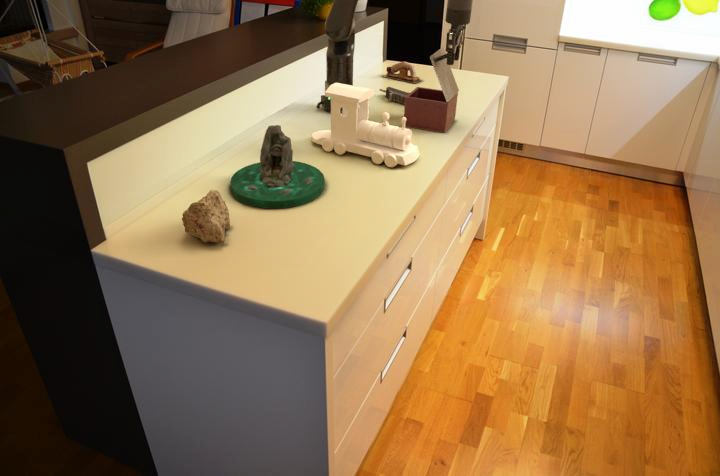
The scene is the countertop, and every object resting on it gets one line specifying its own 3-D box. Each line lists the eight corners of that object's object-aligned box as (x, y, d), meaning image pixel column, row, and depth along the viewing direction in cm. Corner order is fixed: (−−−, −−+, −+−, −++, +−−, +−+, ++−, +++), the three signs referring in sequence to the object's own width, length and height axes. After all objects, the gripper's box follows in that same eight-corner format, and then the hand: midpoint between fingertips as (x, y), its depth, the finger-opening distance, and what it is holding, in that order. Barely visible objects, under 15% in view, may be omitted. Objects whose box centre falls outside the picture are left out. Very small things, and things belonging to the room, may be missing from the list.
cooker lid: (429, 57, 187) (445, 50, 184) (440, 48, 197) (456, 42, 194) (446, 102, 192) (463, 96, 189) (456, 91, 202) (472, 86, 199)
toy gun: (463, 110, 218) (437, 119, 208) (397, 89, 236) (371, 96, 227) (464, 100, 216) (438, 109, 207) (398, 80, 234) (371, 87, 225)
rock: (167, 214, 132) (199, 198, 128) (198, 195, 143) (228, 179, 139) (193, 256, 135) (225, 242, 130) (221, 234, 146) (252, 220, 141)
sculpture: (389, 73, 255) (390, 56, 251) (423, 80, 248) (424, 62, 244) (381, 77, 250) (382, 60, 246) (415, 84, 243) (417, 66, 239)
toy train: (405, 171, 170) (410, 106, 160) (302, 145, 184) (301, 84, 174) (423, 157, 179) (429, 94, 169) (324, 133, 193) (324, 74, 184)
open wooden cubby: (403, 126, 201) (405, 97, 196) (415, 114, 211) (417, 86, 206) (444, 132, 197) (447, 103, 192) (454, 120, 207) (457, 92, 202)
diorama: (217, 203, 150) (211, 147, 143) (247, 163, 172) (243, 113, 164) (313, 212, 148) (312, 156, 140) (332, 170, 169) (332, 119, 161)
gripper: (453, 1, 189) (447, 55, 198) (441, 8, 178) (434, 66, 187) (476, 4, 187) (469, 59, 196) (465, 11, 176) (458, 69, 184)
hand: (452, 62), depth 191 cm, fingers closed on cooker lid, 5 cm apart
